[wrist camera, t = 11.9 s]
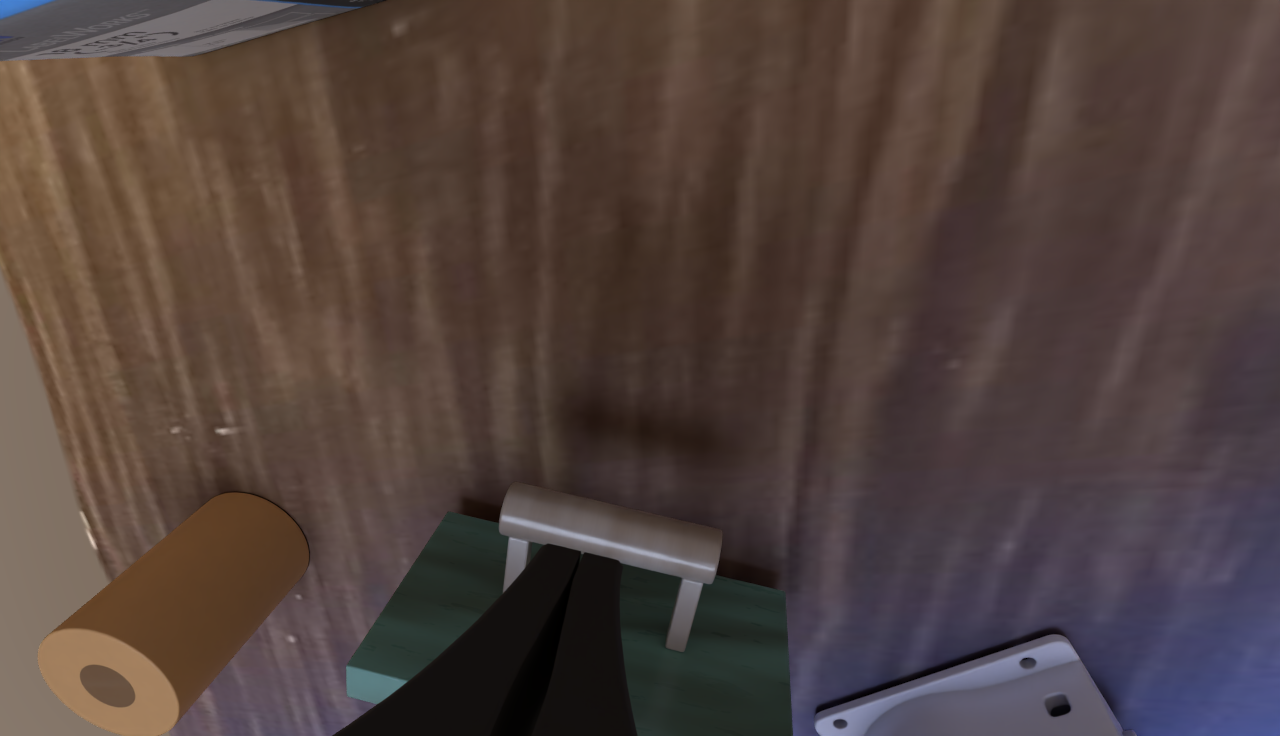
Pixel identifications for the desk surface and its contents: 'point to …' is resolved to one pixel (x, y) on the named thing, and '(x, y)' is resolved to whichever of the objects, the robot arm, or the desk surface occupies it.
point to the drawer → (649, 612)
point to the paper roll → (175, 616)
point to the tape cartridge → (148, 25)
